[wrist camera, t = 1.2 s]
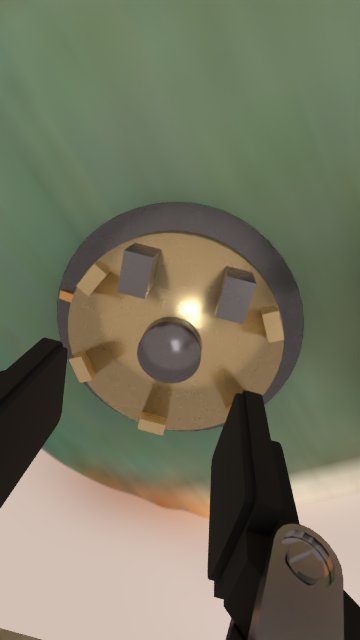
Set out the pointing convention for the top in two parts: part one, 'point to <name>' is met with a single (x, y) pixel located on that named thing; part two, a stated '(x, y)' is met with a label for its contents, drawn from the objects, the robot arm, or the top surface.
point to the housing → (210, 225)
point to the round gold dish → (174, 330)
